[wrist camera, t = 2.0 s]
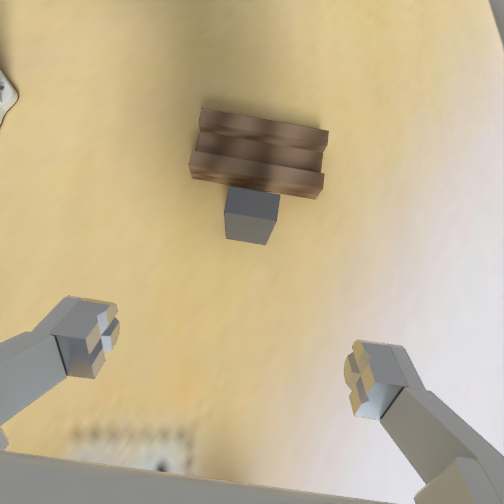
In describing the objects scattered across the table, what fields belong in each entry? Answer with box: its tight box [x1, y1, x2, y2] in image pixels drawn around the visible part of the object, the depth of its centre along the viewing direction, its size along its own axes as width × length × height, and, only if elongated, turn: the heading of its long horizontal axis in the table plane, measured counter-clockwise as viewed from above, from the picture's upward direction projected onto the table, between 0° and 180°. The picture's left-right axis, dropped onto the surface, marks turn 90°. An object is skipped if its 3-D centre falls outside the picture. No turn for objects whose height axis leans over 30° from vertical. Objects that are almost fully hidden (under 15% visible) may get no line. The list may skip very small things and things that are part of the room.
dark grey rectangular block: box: [224, 186, 280, 245], centre depth 35 cm, size 3×6×10 cm, turn 81°
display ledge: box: [189, 108, 329, 199], centre depth 40 cm, size 18×9×4 cm, turn 81°
